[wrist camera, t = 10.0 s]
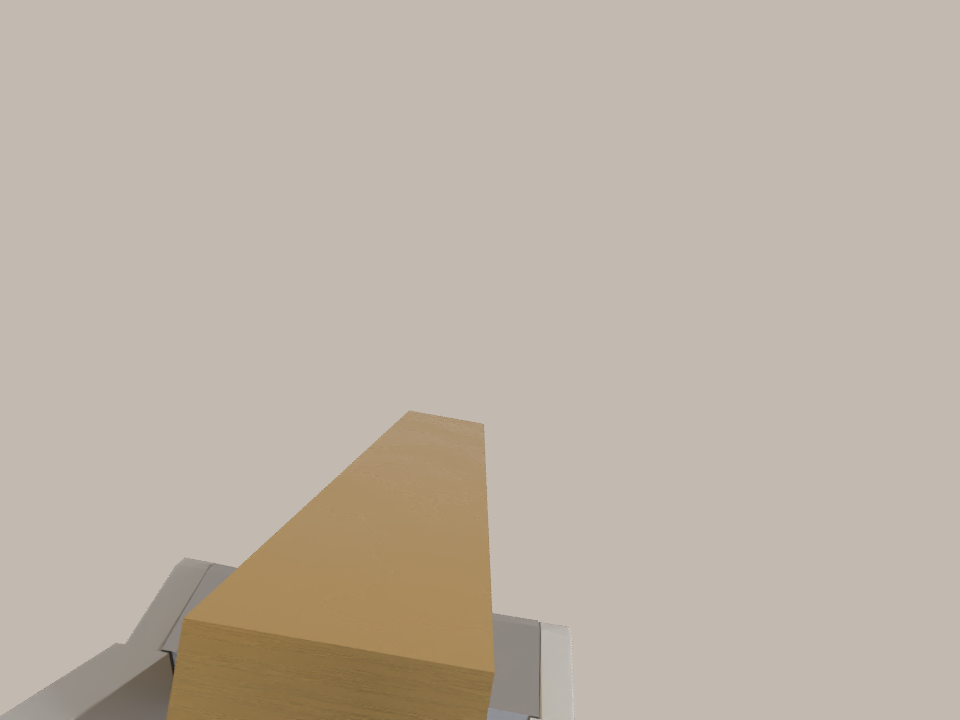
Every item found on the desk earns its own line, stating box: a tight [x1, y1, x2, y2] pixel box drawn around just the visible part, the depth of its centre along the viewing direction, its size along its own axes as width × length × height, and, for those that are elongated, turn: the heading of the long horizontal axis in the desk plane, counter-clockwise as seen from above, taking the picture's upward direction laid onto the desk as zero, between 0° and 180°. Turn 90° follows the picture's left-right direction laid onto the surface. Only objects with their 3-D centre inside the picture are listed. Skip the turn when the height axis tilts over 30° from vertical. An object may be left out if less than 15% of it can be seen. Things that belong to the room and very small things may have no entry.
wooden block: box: [166, 411, 495, 720], centre depth 18 cm, size 22×4×4 cm, turn 179°
